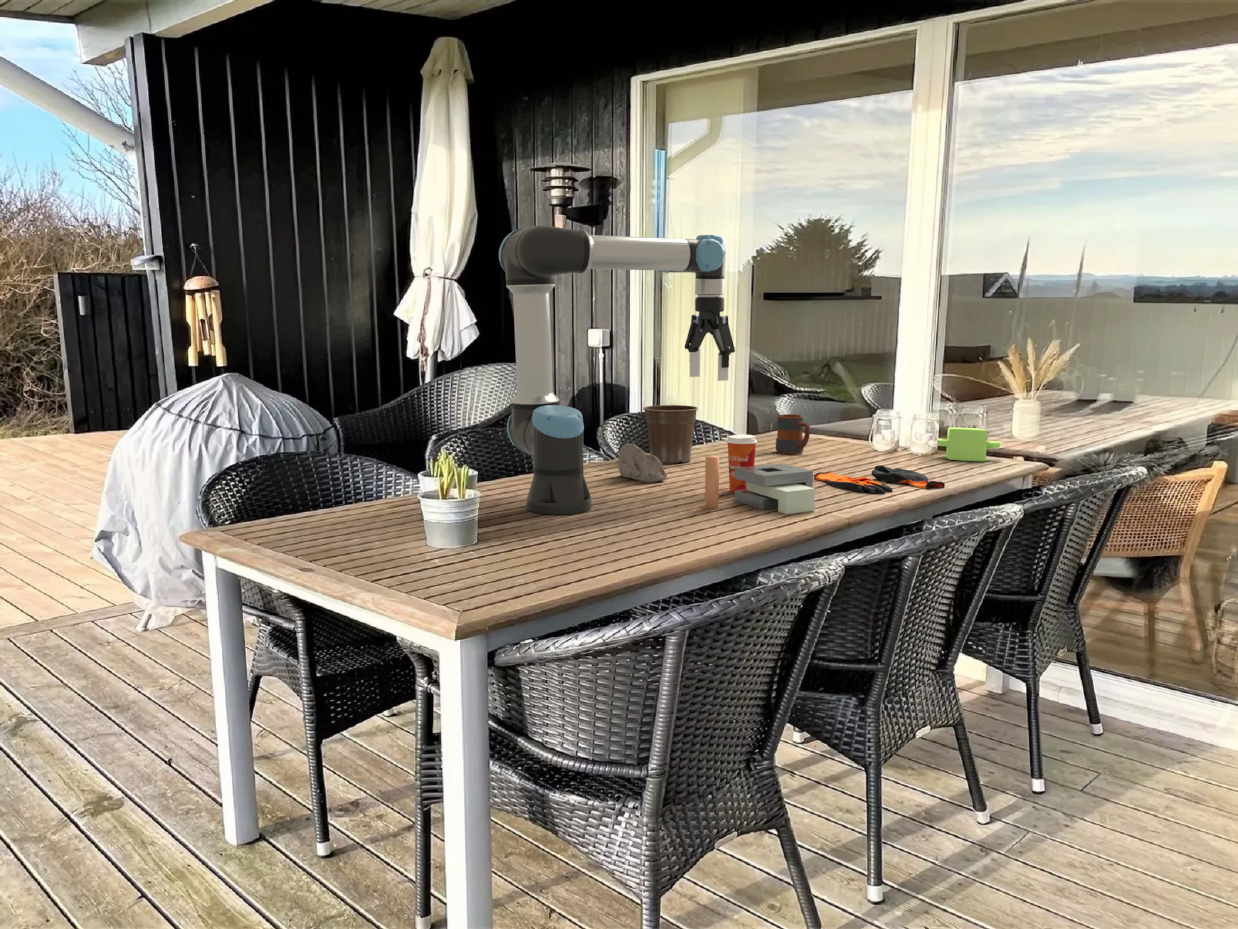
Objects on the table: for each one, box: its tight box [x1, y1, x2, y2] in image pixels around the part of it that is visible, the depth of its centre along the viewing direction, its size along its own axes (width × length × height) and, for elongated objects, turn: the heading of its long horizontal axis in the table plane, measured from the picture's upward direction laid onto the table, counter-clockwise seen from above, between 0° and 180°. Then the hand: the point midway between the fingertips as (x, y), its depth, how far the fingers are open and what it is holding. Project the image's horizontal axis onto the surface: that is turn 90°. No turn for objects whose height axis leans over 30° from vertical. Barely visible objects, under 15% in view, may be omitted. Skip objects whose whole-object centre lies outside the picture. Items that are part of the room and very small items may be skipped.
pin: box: [704, 455, 720, 510], centre depth 230 cm, size 3×3×12 cm
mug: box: [775, 413, 811, 456], centre depth 308 cm, size 9×12×12 cm
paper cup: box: [725, 434, 758, 494], centre depth 249 cm, size 8×8×14 cm
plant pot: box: [643, 404, 699, 465], centre depth 294 cm, size 16×16×16 cm
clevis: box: [733, 463, 814, 511], centre depth 236 cm, size 14×12×8 cm
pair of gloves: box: [813, 464, 945, 495], centre depth 260 cm, size 27×24×3 cm
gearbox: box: [936, 427, 1001, 462], centre depth 297 cm, size 18×10×10 cm, turn 77°
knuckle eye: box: [746, 482, 816, 515], centre depth 232 cm, size 8×16×5 cm, turn 27°
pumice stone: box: [617, 442, 668, 484], centre depth 265 cm, size 15×8×10 cm, turn 40°
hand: (708, 378), depth 258 cm, fingers open, 13 cm apart
